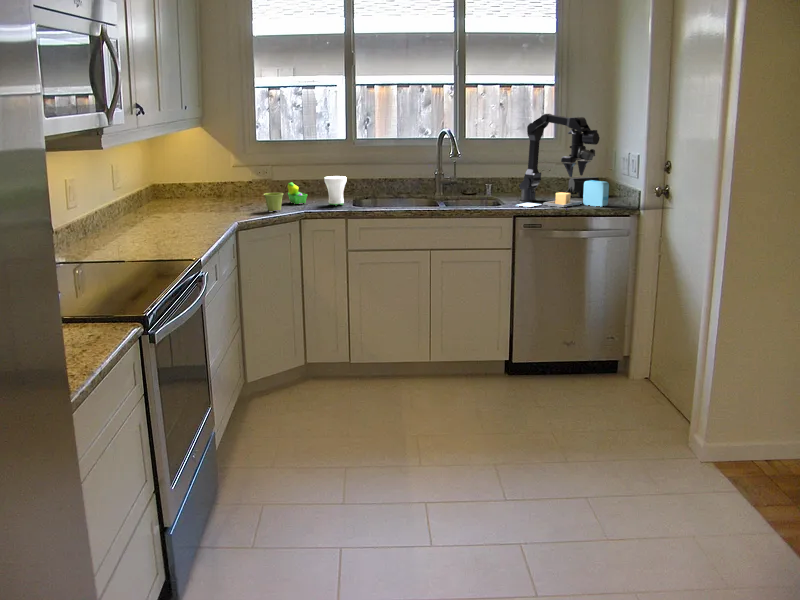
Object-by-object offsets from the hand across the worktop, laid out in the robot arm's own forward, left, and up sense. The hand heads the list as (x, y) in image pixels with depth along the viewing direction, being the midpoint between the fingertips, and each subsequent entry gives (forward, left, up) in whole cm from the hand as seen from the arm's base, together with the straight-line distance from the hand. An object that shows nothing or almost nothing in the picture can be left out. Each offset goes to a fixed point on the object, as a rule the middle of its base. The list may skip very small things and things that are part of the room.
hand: (576, 176), depth 379 cm
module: (-6, -1, -15) cm, 16 cm away
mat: (-17, -14, -15) cm, 27 cm away
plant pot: (-99, -110, -15) cm, 149 cm away
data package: (+7, +8, -15) cm, 18 cm away
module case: (-6, -1, -15) cm, 16 cm away
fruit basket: (-112, -86, -15) cm, 142 cm away
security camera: (-16, +31, -15) cm, 38 cm away
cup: (-92, -76, -15) cm, 120 cm away
